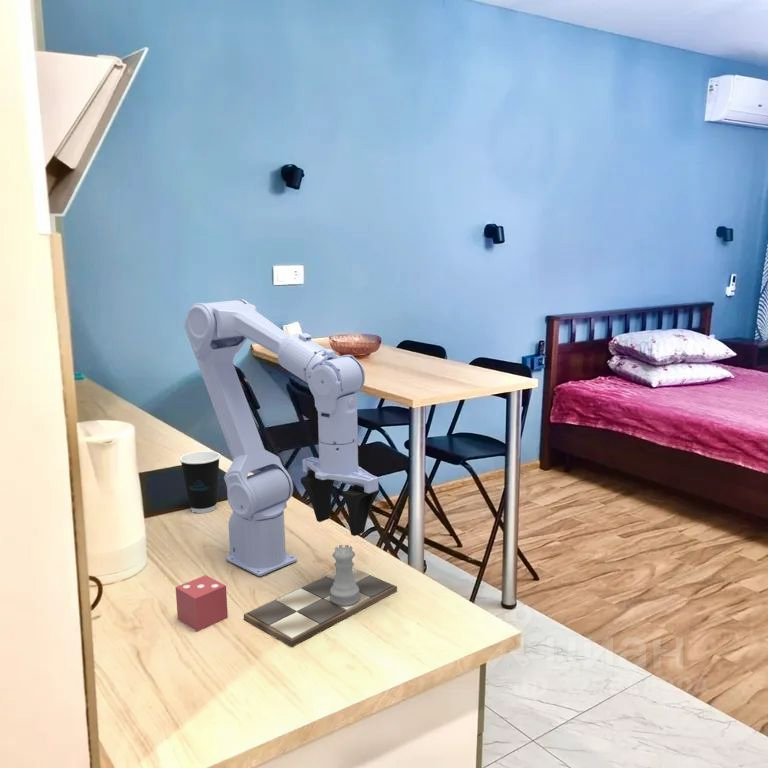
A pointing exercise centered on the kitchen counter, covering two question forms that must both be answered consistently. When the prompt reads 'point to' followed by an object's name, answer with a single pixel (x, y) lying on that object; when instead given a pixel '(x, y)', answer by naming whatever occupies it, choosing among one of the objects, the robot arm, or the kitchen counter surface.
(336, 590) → the rook chess piece
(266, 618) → the game board
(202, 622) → the die
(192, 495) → the dixie cup
